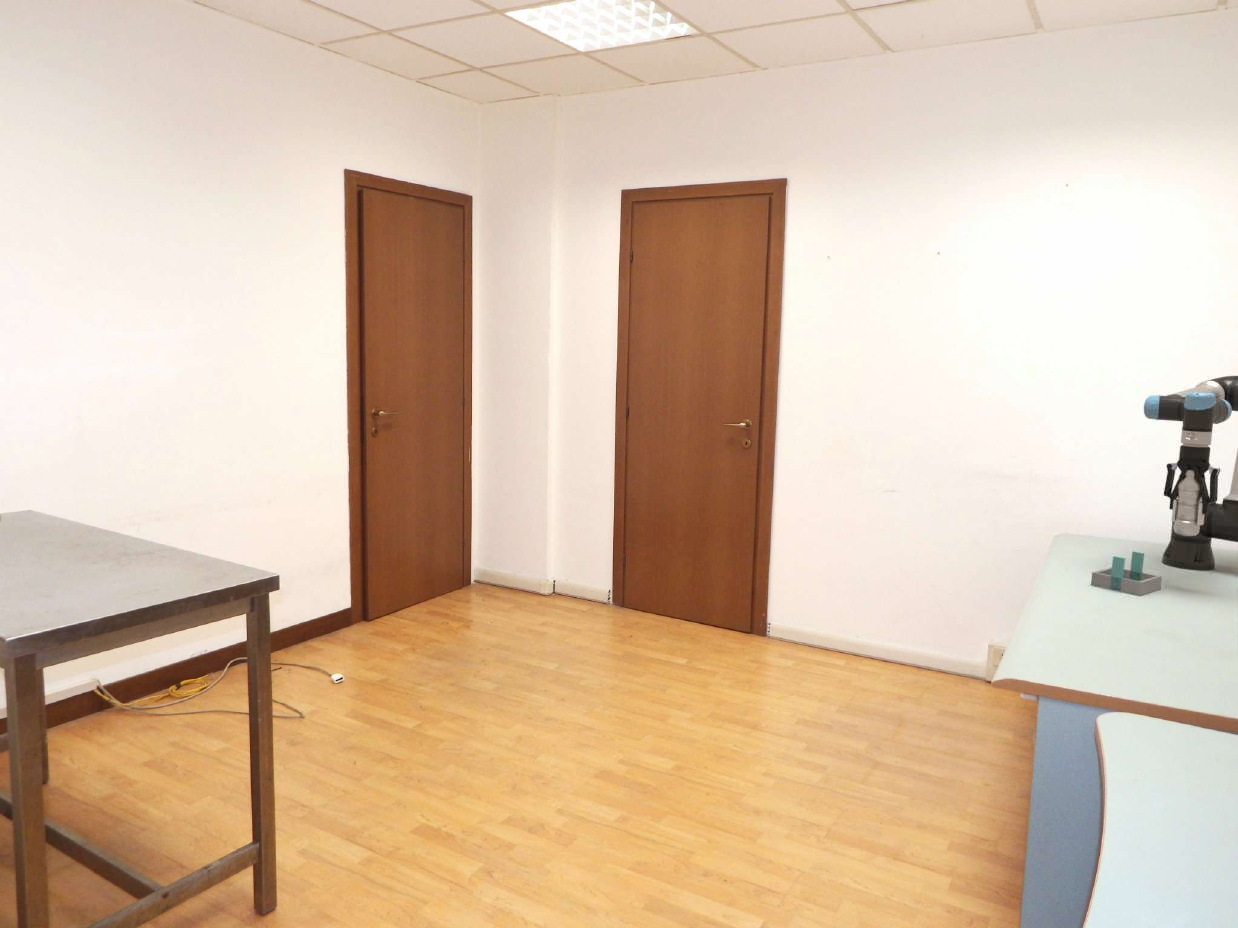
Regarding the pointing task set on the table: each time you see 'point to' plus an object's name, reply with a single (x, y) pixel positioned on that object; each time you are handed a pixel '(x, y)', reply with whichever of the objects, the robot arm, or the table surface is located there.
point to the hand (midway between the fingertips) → (1187, 522)
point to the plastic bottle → (1188, 505)
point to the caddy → (1127, 577)
